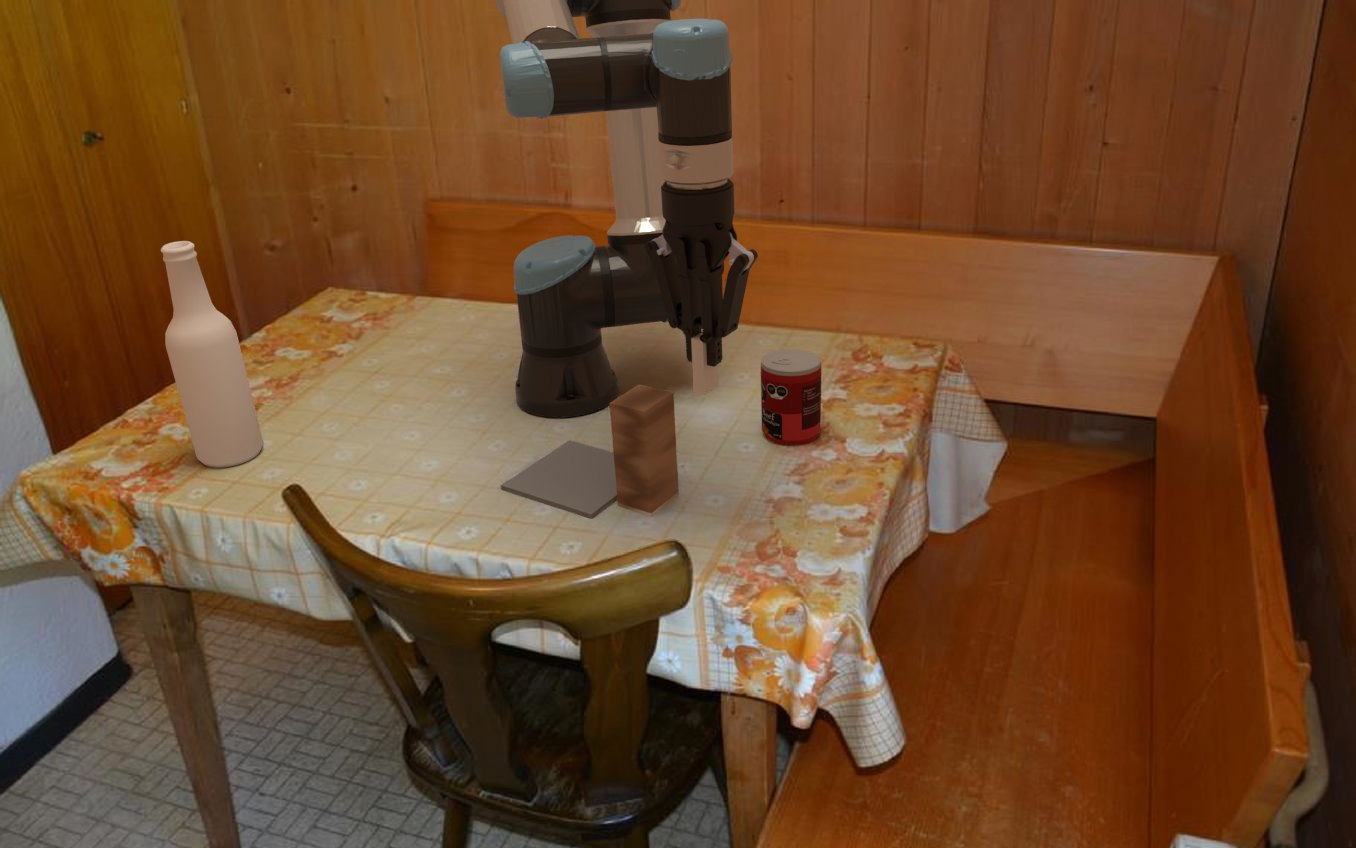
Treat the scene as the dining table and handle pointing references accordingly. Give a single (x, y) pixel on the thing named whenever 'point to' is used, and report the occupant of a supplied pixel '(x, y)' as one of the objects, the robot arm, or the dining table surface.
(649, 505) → the walnut block
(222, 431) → the alcohol
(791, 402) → the canned food
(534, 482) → the mat
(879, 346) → the dining table surface
